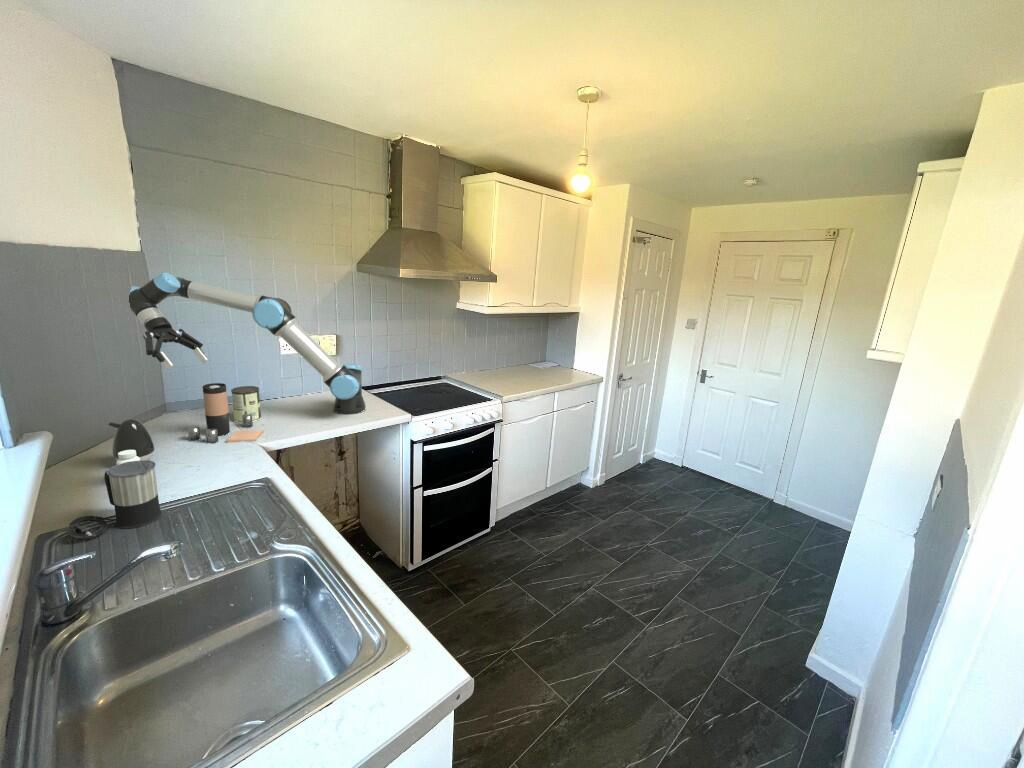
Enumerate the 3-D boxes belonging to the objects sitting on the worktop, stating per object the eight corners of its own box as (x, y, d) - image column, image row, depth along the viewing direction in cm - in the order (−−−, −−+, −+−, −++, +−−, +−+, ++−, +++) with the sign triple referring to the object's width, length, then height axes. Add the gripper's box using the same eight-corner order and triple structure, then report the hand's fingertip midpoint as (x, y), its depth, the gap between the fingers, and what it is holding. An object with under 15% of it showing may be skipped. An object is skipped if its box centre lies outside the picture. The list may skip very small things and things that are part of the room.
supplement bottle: (148, 478, 128) (143, 449, 126) (130, 486, 123) (125, 456, 120) (133, 476, 129) (128, 447, 126) (114, 484, 123) (109, 454, 121)
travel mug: (224, 428, 170) (220, 382, 166) (234, 433, 167) (230, 385, 162) (203, 433, 164) (198, 385, 159) (213, 438, 160) (208, 389, 156)
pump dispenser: (123, 457, 140) (116, 415, 136) (161, 455, 144) (155, 413, 140) (107, 470, 131) (99, 425, 127) (148, 467, 134) (141, 423, 131)
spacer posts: (254, 424, 177) (253, 413, 176) (236, 442, 158) (235, 430, 157) (207, 425, 172) (205, 414, 171) (183, 444, 153) (181, 431, 152)
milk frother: (171, 510, 113) (165, 461, 109) (117, 546, 97) (108, 490, 94) (119, 507, 112) (110, 457, 109) (57, 542, 97) (44, 485, 93)
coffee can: (245, 414, 188) (242, 385, 185) (266, 417, 187) (264, 387, 184) (228, 421, 178) (225, 390, 175) (250, 424, 177) (247, 392, 174)
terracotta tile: (263, 432, 170) (263, 430, 169) (255, 441, 160) (255, 439, 160) (236, 433, 167) (235, 430, 167) (226, 442, 158) (226, 440, 157)
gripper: (182, 326, 174) (213, 365, 174) (113, 330, 151) (149, 376, 151) (191, 314, 172) (222, 354, 172) (122, 317, 148) (159, 363, 148)
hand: (188, 364), depth 161 cm, fingers open, 13 cm apart
